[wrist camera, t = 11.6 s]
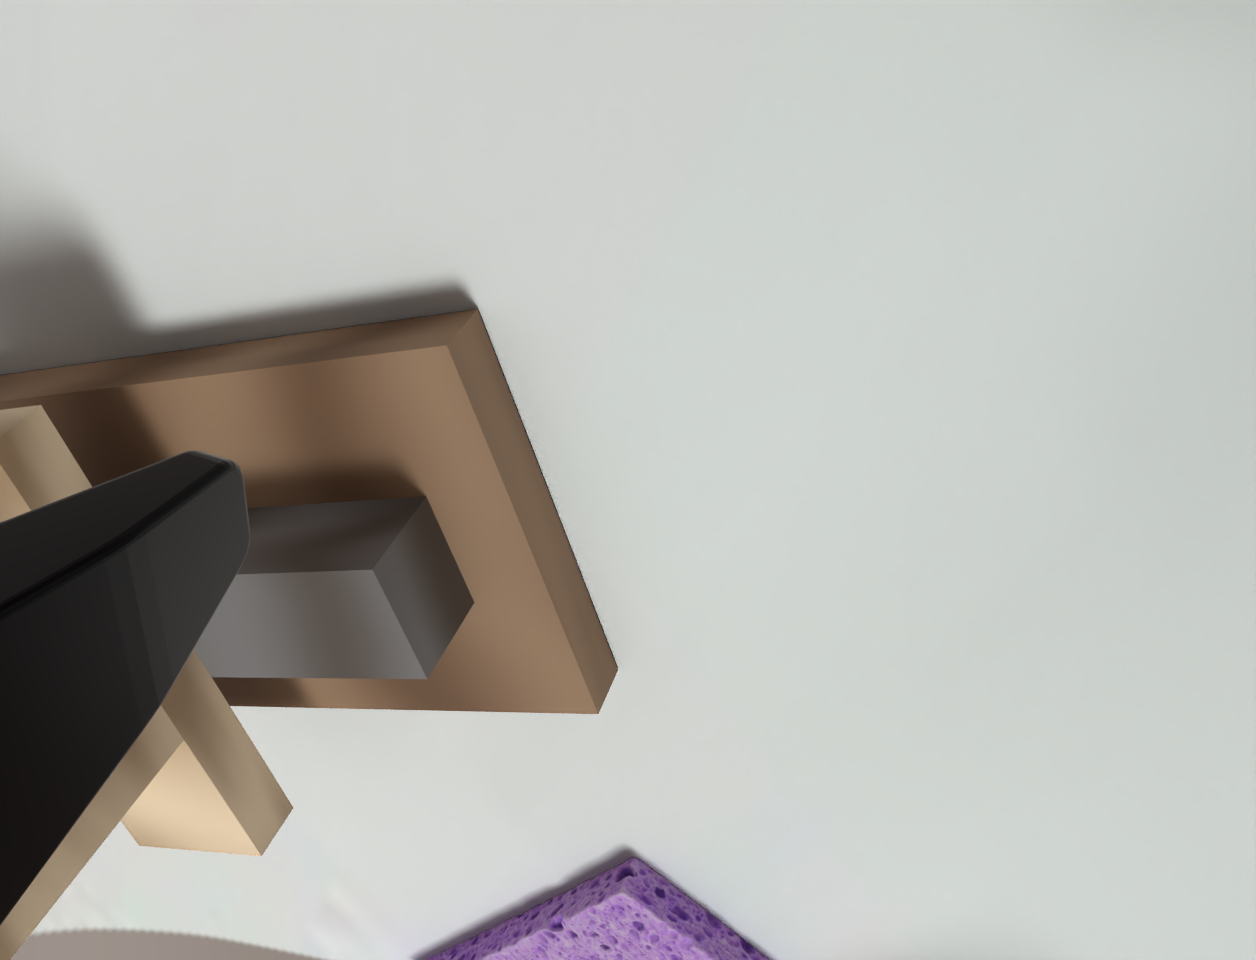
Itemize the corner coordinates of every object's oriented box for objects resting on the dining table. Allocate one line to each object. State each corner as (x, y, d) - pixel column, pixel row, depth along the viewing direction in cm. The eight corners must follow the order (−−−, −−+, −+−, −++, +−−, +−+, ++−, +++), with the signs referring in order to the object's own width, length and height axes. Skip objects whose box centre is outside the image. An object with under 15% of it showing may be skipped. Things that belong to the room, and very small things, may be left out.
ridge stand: (477, 309, 24) (388, 413, 21) (617, 669, 29) (561, 795, 26) (-153, 396, 33) (-282, 481, 30) (41, 666, 38) (-53, 762, 35)
